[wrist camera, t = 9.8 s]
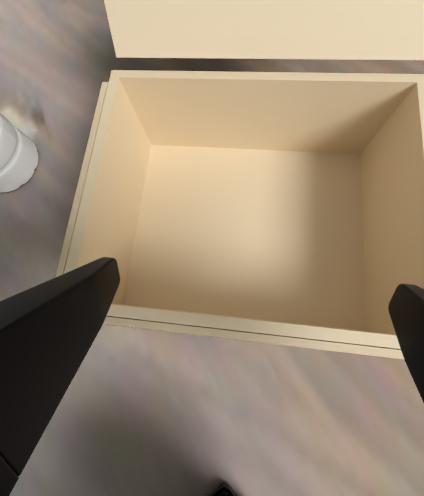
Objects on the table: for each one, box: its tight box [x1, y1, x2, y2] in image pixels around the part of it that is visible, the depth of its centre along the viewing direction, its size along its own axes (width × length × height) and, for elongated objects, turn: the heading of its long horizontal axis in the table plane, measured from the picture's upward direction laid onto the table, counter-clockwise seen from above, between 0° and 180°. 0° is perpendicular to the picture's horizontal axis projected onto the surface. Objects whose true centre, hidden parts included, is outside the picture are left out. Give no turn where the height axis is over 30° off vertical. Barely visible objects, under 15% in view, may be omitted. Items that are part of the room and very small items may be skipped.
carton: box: [55, 70, 424, 359], centre depth 19 cm, size 16×21×8 cm
